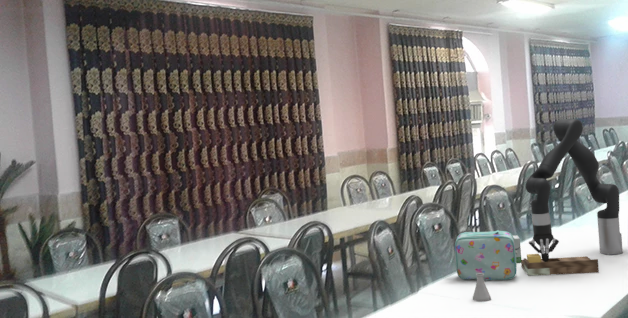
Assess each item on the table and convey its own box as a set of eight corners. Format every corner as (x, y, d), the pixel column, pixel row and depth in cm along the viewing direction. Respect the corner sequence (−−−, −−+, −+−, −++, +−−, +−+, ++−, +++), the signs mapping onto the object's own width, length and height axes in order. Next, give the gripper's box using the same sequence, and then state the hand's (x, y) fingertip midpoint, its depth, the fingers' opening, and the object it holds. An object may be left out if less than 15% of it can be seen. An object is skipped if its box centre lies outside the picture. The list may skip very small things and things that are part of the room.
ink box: (522, 262, 284) (520, 238, 283) (511, 263, 285) (509, 238, 284) (519, 258, 292) (517, 234, 292) (509, 259, 293) (507, 235, 293)
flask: (469, 297, 239) (467, 272, 238) (487, 295, 239) (485, 270, 239) (476, 302, 231) (474, 277, 231) (494, 300, 232) (492, 275, 232)
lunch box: (520, 274, 264) (516, 227, 263) (520, 281, 254) (516, 231, 253) (458, 275, 273) (454, 229, 272) (456, 281, 263) (452, 233, 262)
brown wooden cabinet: (587, 262, 273) (586, 251, 272) (598, 272, 256) (597, 259, 256) (521, 266, 278) (520, 254, 277) (528, 275, 261) (527, 263, 261)
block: (539, 264, 266) (538, 253, 266) (541, 267, 261) (540, 256, 261) (527, 265, 267) (526, 254, 267) (529, 268, 262) (529, 257, 262)
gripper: (527, 226, 260) (531, 264, 261) (559, 223, 258) (563, 262, 259) (524, 222, 268) (528, 260, 269) (555, 220, 265) (559, 258, 266)
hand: (545, 261), depth 264 cm, fingers closed
